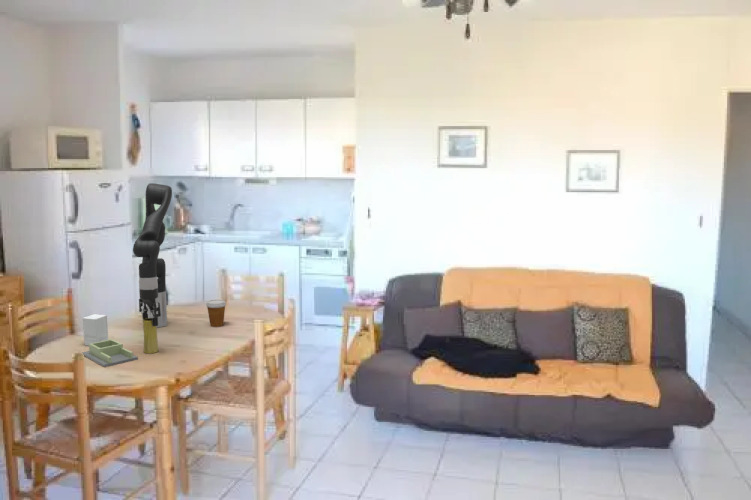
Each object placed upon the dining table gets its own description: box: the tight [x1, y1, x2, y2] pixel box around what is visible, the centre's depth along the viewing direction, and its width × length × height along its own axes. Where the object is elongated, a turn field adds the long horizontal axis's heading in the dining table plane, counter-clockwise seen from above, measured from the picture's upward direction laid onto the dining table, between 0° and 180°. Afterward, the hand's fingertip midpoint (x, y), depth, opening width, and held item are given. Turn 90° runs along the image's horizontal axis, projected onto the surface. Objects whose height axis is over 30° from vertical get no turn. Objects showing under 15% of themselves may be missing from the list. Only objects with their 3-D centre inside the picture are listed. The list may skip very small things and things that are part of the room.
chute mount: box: [81, 338, 139, 368], centre depth 276 cm, size 22×14×5 cm, turn 46°
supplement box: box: [82, 313, 109, 347], centre depth 294 cm, size 7×7×13 cm
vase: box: [142, 318, 159, 354], centre depth 284 cm, size 6×6×14 cm
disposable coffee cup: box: [206, 299, 227, 328], centre depth 325 cm, size 10×10×12 cm
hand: (150, 324), depth 283 cm, fingers open, 8 cm apart
